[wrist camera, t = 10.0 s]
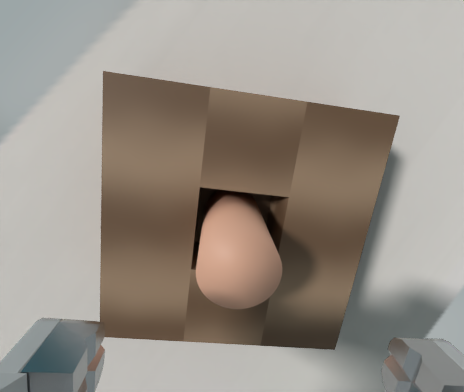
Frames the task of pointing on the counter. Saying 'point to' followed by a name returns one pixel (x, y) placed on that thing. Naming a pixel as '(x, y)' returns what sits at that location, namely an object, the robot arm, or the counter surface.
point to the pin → (236, 252)
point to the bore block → (233, 179)
